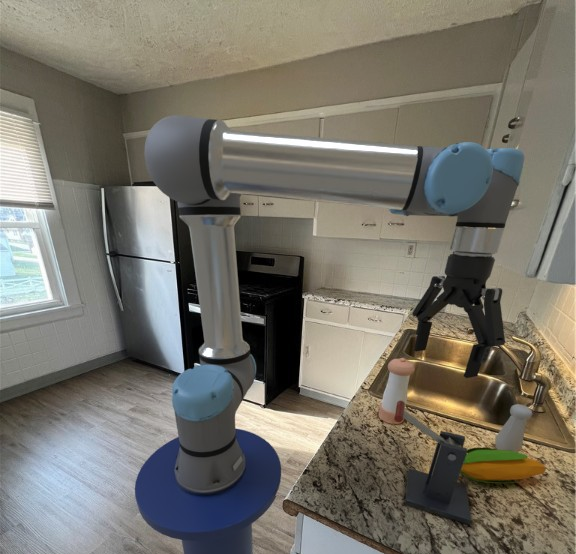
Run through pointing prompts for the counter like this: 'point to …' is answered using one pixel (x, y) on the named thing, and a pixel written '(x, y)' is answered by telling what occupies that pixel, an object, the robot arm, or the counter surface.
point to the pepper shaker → (395, 388)
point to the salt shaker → (513, 429)
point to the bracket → (441, 483)
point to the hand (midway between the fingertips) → (442, 362)
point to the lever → (420, 425)
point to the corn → (499, 465)
